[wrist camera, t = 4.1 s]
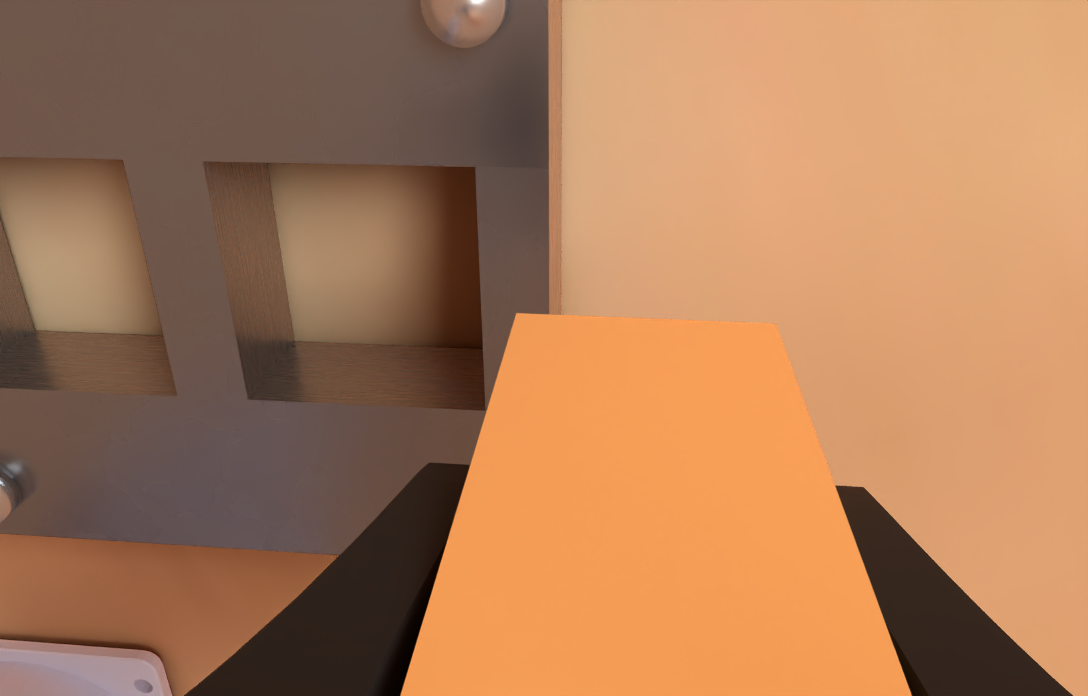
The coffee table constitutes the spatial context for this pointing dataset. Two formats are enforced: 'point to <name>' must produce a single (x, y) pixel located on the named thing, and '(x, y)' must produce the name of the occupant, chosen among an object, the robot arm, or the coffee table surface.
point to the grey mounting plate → (263, 257)
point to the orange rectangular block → (650, 527)
